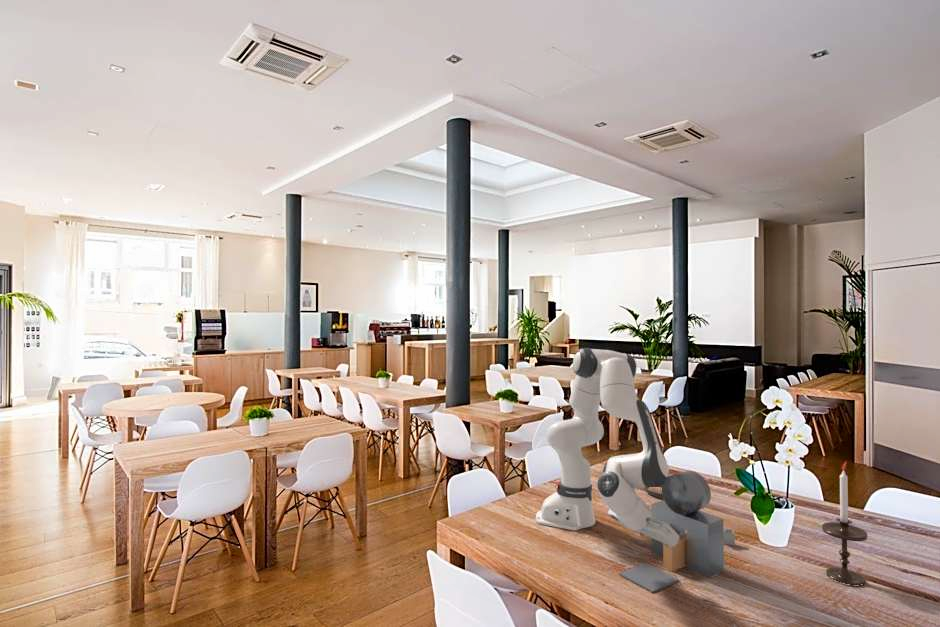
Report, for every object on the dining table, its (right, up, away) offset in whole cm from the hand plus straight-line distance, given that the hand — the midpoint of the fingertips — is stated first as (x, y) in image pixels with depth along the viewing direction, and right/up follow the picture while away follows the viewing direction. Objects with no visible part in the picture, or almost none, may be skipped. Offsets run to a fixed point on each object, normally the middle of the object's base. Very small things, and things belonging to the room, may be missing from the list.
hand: (656, 539), depth 154 cm
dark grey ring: (+31, -11, +71) cm, 78 cm away
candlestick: (+55, -10, -3) cm, 56 cm away
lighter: (+30, -11, +21) cm, 38 cm away
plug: (+10, -11, +6) cm, 16 cm away
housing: (+12, -11, +8) cm, 18 cm away
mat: (-3, -11, -2) cm, 11 cm away
